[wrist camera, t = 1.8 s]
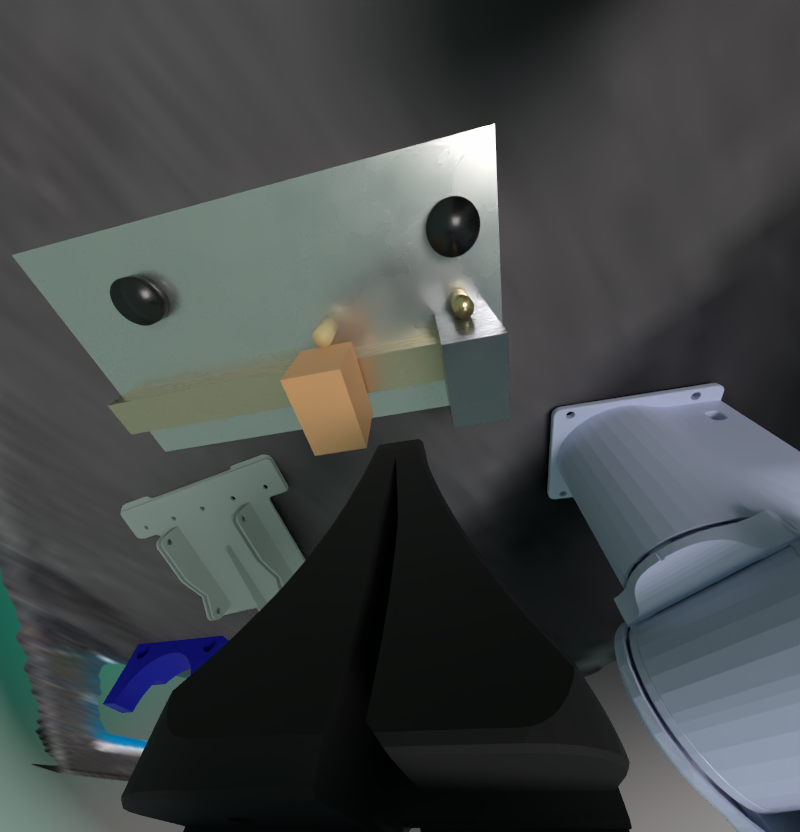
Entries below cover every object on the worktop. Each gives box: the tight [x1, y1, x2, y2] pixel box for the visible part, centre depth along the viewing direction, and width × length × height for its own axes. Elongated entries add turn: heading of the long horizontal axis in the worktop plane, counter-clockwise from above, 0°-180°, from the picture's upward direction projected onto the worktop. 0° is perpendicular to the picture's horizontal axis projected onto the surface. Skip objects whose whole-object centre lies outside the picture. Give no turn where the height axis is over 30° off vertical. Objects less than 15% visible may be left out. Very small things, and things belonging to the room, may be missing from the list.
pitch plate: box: [12, 124, 510, 452], centre depth 16 cm, size 22×12×6 cm, turn 102°
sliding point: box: [280, 318, 373, 456], centre depth 15 cm, size 2×5×4 cm, turn 12°
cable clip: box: [103, 636, 228, 713], centre depth 39 cm, size 12×4×6 cm, turn 104°
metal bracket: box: [121, 455, 305, 621], centre depth 27 cm, size 14×6×15 cm
